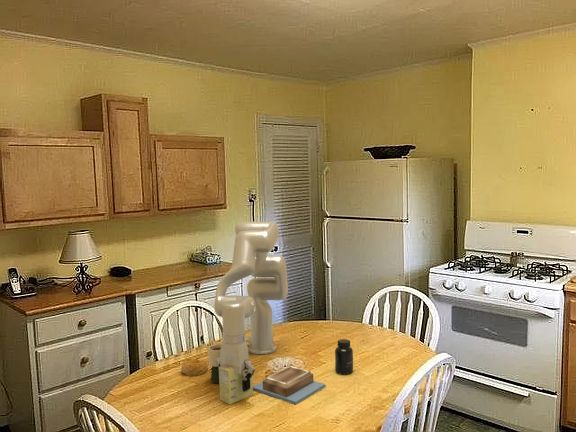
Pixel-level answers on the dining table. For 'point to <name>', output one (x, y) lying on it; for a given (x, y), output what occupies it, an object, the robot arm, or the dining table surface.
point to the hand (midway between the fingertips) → (236, 386)
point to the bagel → (194, 367)
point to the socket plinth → (288, 381)
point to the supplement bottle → (344, 357)
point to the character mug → (214, 361)
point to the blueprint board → (295, 397)
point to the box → (232, 385)
